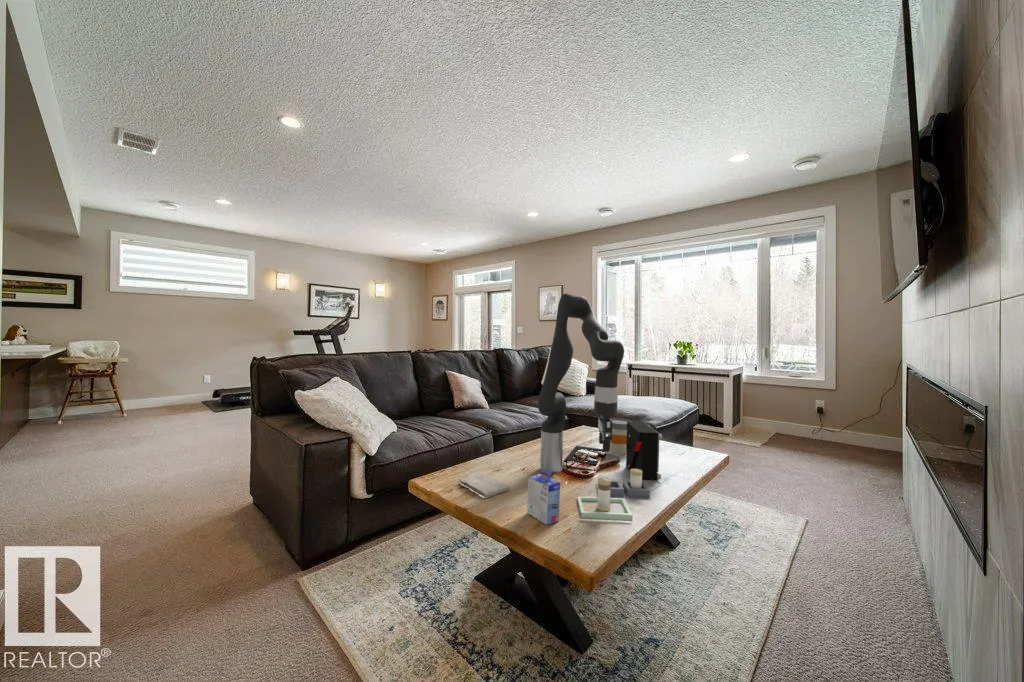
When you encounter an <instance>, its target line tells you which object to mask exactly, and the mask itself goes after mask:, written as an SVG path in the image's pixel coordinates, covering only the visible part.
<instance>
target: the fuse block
mask: <svg viewBox="0 0 1024 682" xmlns="http://www.w3.org/2000/svg"><path fill="white" fill-rule="evenodd" d="M629 472H630V475H629V476H630V479H629V480H622V483H621V481H620V480H613V479H611V489H610V498H624V499H628V500H629V499H633V500H652V498H651V490H650V488H649V487H648V485H647V484H646V483H645V481H643V480H642V470H640V469H630V471H629ZM594 487H595V489H596V492H597V493H598V484H594Z"/></svg>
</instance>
